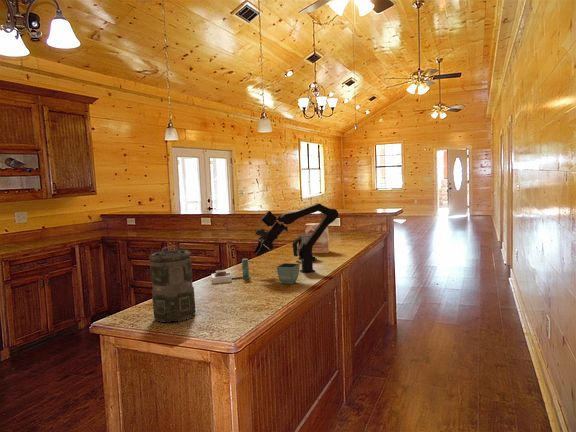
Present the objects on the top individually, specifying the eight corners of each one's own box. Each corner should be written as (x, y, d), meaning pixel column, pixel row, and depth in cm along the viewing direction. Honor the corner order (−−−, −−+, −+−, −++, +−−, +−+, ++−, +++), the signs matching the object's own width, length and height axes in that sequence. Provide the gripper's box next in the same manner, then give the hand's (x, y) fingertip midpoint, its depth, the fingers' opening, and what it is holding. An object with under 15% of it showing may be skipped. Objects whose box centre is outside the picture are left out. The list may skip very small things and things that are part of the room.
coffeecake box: (306, 253, 285) (304, 224, 284) (307, 251, 292) (306, 223, 291) (328, 252, 283) (327, 223, 281) (329, 251, 290) (328, 222, 288)
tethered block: (249, 276, 228) (248, 258, 228) (251, 278, 224) (249, 259, 223) (216, 279, 225) (214, 261, 224) (216, 282, 220) (215, 263, 219)
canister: (174, 326, 156) (167, 250, 154) (145, 320, 165) (138, 249, 162) (204, 313, 170) (198, 243, 167) (176, 308, 178) (170, 242, 175)
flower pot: (300, 281, 211) (299, 263, 211) (293, 285, 203) (292, 267, 203) (284, 280, 215) (283, 263, 214) (277, 284, 207) (276, 266, 206)
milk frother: (304, 256, 275) (302, 233, 274) (325, 258, 266) (323, 234, 265) (291, 260, 264) (289, 237, 263) (312, 262, 255) (311, 238, 253)
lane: (230, 277, 229) (229, 271, 229) (231, 281, 219) (231, 275, 219) (212, 279, 227) (211, 273, 227) (212, 283, 217) (212, 277, 217)
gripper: (260, 221, 234) (242, 242, 233) (265, 224, 216) (245, 247, 215) (275, 234, 236) (257, 255, 235) (282, 238, 218) (261, 261, 217)
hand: (255, 254), depth 226 cm, fingers open, 9 cm apart
